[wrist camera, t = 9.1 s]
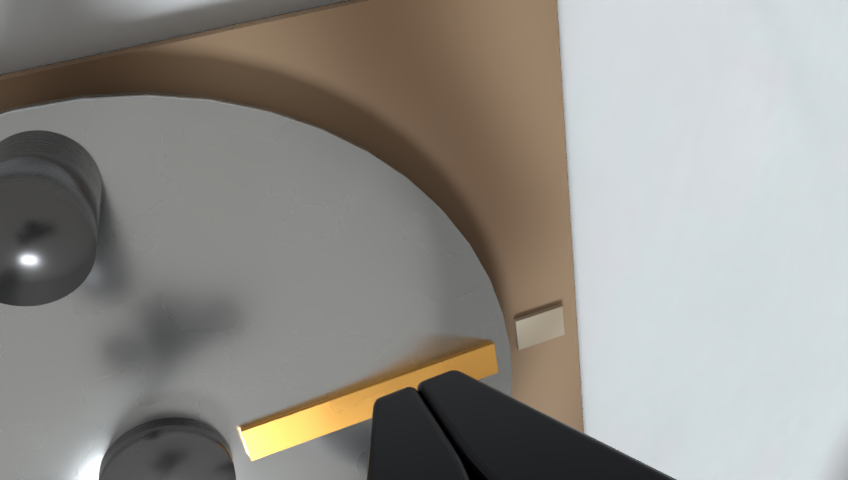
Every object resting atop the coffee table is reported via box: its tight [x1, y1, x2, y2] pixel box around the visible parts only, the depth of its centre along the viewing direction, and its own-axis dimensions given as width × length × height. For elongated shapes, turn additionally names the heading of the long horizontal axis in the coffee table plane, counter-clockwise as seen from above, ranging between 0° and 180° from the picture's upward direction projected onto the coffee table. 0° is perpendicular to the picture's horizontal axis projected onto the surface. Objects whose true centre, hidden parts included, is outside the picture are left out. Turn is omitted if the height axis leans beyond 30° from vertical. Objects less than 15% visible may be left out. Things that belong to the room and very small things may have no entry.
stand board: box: [0, 0, 584, 433], centre depth 20 cm, size 23×20×1 cm
